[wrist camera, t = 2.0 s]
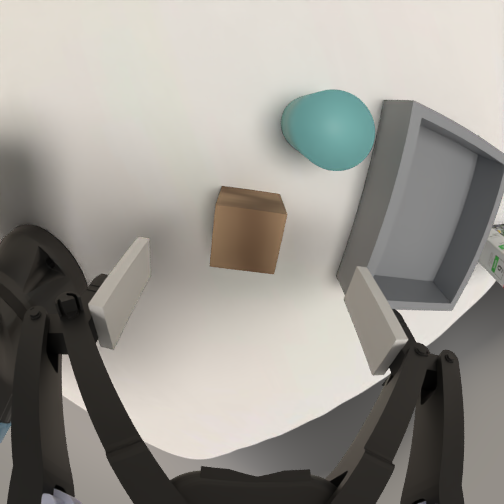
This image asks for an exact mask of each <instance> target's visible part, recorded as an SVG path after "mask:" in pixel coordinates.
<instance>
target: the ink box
mask: <svg viewBox="0 0 504 504" xmlns="http://www.w3.org/2000/svg"><path fill="white" fill-rule="evenodd" d="M478 262H479V263H480V264H481V265H482V266H483V267H484V268H485V269H486V270H487V271H488V272H489V273H490V274H491V275H492V276H493V277H494V278H495V279H496V280H497V281H498V283H499V284H500V285H501V286H502V287H503V288H504V225H497V226H492V229H491V231H490V234H489V236H488V239H487V241H486V244H485V246H484V249H483V251H482V253H481V255H480V258H479V260H478Z"/></svg>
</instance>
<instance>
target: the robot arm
mask: <svg viewBox="0 0 504 504" xmlns="http://www.w3.org/2000/svg"><path fill="white" fill-rule="evenodd" d="M150 277H151V266H150V239H149V238H144V237H138V238H137V239H136V240H135V241H134V243H133V244H132V245H131V246H130V248H129V249H128V250H127V251H126V253H125V254H124V255H123V257H122V258H121V259H120V261H119V262H118V263H117V264H116V266H115V267H114V268H113V270H112V271H111V273H110V274H109V275H105V274H101V275H99V276H97V277H96V278H94V280H93V281H92V282H91V284H90V285H89V286H88V288H87V284H86V281H85V279H84V276H83V274H82V272H81V270H80V268H79V266H78V264H77V263H76V261H75V259H74V258H73V257H72V255H71V254H70V252H69V251H68V250H67V249H66V248H65V247H64V245H63V244H62V243H61V242H60V241H59V240H58V239H56V238H55V237H54V236H53V235H51V234H50V233H49V232H47V231H45V230H44V229H42V228H39V227H37V226H33V225H22V226H19V227H17V228H15V229H14V230H13V231H11V232H10V233H9V234H8V235H6V236H5V237H4V239H3V240H2V241H1V243H0V443H1V442H2V440H3V438H4V436H5V435H6V433H7V431H8V429H9V427H10V426H11V441H12V458H13V470H12V475H11V480H10V486H9V493H8V500H7V504H82V503H81V502H80V501H79V500H78V499H76V498H75V495H74V485H73V479H72V473H71V468H70V464H69V457H68V451H67V444H66V437H65V428H64V418H63V404H62V354H68V355H69V358H70V362H71V365H72V368H73V372H74V375H75V378H76V381H77V384H78V387H79V390H80V393H81V395H82V398H83V401H84V403H85V406H86V408H87V411H88V413H89V416H90V418H91V420H92V423H93V425H94V427H95V430H96V432H97V434H98V436H99V438H100V440H101V443H102V445H103V447H104V449H105V451H106V456H107V459H108V461H109V463H110V465H111V467H112V469H113V470H114V472H115V474H116V476H117V477H118V479H119V481H120V483H121V484H122V486H123V488H124V489H125V491H126V492H127V494H128V495H129V497H130V499H131V500H132V501H133V503H134V504H376V502H377V500H378V499H379V497H380V495H381V493H382V492H383V490H384V488H385V486H386V484H387V482H388V480H389V479H390V477H391V475H392V473H393V470H394V467H395V465H394V464H392V461H393V459H394V457H395V454H396V452H397V450H398V448H399V446H400V443H401V441H402V439H403V436H404V434H405V432H406V429H407V427H408V424H409V421H410V419H411V417H412V414H413V411H414V408H415V406H416V410H415V420H414V430H413V438H412V445H411V451H410V458H409V464H408V469H407V474H406V478H405V483H404V488H403V491H402V497H401V502H400V504H464V498H463V491H462V475H463V461H464V411H463V397H462V386H461V377H460V369H459V362H458V358H457V357H456V355H455V354H454V353H453V352H451V351H449V350H443V351H442V352H441V353H440V355H439V356H438V355H434V354H430V352H429V350H428V348H427V347H426V346H424V345H423V344H421V343H416V341H415V339H414V337H413V335H412V333H411V332H410V330H409V328H408V327H407V325H406V323H405V322H404V319H403V317H402V316H401V314H400V313H399V312H398V311H396V310H395V309H391V307H390V305H389V303H388V302H387V300H386V298H385V296H384V295H383V293H382V291H381V290H380V288H379V286H378V285H377V283H376V281H375V280H374V278H373V276H372V275H371V273H370V272H369V270H368V268H367V267H361V266H357V267H356V269H355V272H354V275H353V277H352V280H351V282H350V285H349V288H348V290H347V293H346V295H345V297H344V302H345V304H346V307H347V309H348V312H349V314H350V317H351V319H352V322H353V324H354V327H355V330H356V332H357V335H358V337H359V340H360V343H361V345H362V348H363V351H364V353H365V356H366V359H367V362H368V365H369V367H370V370H371V373H372V375H384V374H385V373H386V371H387V370H388V368H390V371H391V374H390V375H389V377H388V378H387V379H386V381H385V382H384V383H383V384H382V385H383V386H384V387H383V389H382V391H381V393H380V395H379V397H378V399H377V401H376V403H375V405H374V407H373V409H372V410H371V412H370V414H369V416H368V417H367V419H366V421H365V423H364V425H363V426H362V428H361V430H360V431H359V433H358V434H357V436H356V438H355V440H354V441H353V443H352V444H351V446H350V447H349V449H348V450H347V452H346V453H345V455H344V456H343V458H342V459H341V461H340V462H339V464H338V465H337V467H336V468H335V469H334V470H333V471H332V472H331V473H330V474H329V475H328V476H327V477H326V479H324V478H321V477H319V476H315V475H311V474H310V470H290V471H281V472H277V473H273V474H269V475H264V476H259V477H256V476H252V475H248V474H244V473H240V472H237V471H233V470H230V469H220V468H211V467H204V466H202V467H201V471H193V472H188V473H185V474H182V475H179V476H177V477H175V478H173V479H172V480H169V479H168V477H167V476H166V474H165V473H164V472H163V470H162V469H161V467H160V466H159V464H158V463H157V462H156V460H155V458H154V457H153V455H152V454H151V452H150V451H149V449H148V448H147V446H146V445H145V443H144V441H143V440H142V438H141V437H140V435H139V434H138V432H137V430H136V428H135V427H134V425H133V423H132V421H131V419H130V418H129V416H128V414H127V412H126V410H125V408H124V406H123V404H122V402H121V400H120V398H119V396H118V394H117V392H116V390H115V388H114V386H113V384H112V382H111V379H110V377H109V375H108V373H107V370H106V368H105V366H104V363H103V361H102V359H101V356H100V354H99V351H98V349H97V346H96V342H97V340H99V343H100V346H101V347H105V348H109V349H113V350H114V349H115V346H116V344H117V342H118V340H119V338H120V336H121V334H122V332H123V329H124V327H125V325H126V323H127V321H128V319H129V317H130V315H131V313H132V311H133V309H134V307H135V305H136V303H137V301H138V299H139V297H140V295H141V294H142V292H143V290H144V288H145V286H146V284H147V282H148V280H149V278H150Z"/></svg>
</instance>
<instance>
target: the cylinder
mask: <svg viewBox="0 0 504 504" xmlns="http://www.w3.org/2000/svg"><path fill="white" fill-rule="evenodd" d="M281 128H282V132H283V135H284V137H285V138H286V140H287V141H288V143H289V144H290V145H291V146H293V147H294V148H295V149H296V150H298V151H299V152H300V153H301V154H303V155H304V156H305V157H306V158H307V159H309V160H310V161H311V162H312V163H314V164H315V165H317V166H319V167H321V168H323V169H327V170H332V171H342V170H347V169H350V168H353V167H355V166H356V165H358V164H359V163H361V162H362V161H363V160H364V159H365V158H366V157H367V155H368V154H369V152H370V151H371V148H372V146H373V143H374V138H375V125H374V121H373V118H372V115H371V113H370V111H369V110H368V108H367V107H366V105H365V104H364V103H363V102H362V101H361V100H360V99H359V98H357V97H356V96H354V95H352V94H350V93H348V92H345V91H341V90H325V91H321V92H317V93H313V94H309V95H306V96H302V97H299V98H297V99H295V100H293V101H292V102H291V103H290V104H289V105H288V106H287V107H286V108H285V110H284V112H283V115H282V119H281Z"/></svg>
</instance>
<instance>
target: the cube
mask: <svg viewBox="0 0 504 504" xmlns="http://www.w3.org/2000/svg"><path fill="white" fill-rule="evenodd" d="M286 218H287V213H286V210H285V207H284V204H283V201H282V199H281V196H280V194H276V193H269V192H262V191H255V190H248V189H241V188H233V187H225V186H222V188H221V191H220V193H219V196H218V199H217V202H216V206H215V215H214V225H213V235H212V246H211V257H210V266H211V267H219V268H227V269H235V270H243V271H251V272H259V273H268V274H274V272H275V267H276V263H277V259H278V254H279V250H280V245H281V241H282V236H283V232H284V227H285V222H286Z"/></svg>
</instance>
